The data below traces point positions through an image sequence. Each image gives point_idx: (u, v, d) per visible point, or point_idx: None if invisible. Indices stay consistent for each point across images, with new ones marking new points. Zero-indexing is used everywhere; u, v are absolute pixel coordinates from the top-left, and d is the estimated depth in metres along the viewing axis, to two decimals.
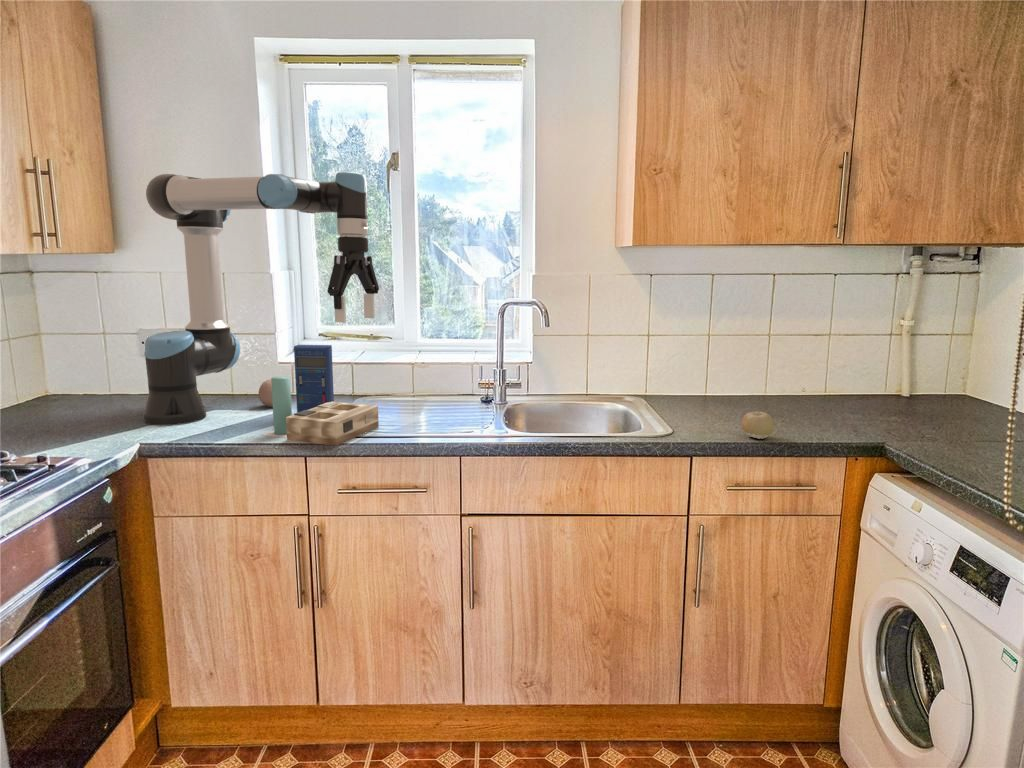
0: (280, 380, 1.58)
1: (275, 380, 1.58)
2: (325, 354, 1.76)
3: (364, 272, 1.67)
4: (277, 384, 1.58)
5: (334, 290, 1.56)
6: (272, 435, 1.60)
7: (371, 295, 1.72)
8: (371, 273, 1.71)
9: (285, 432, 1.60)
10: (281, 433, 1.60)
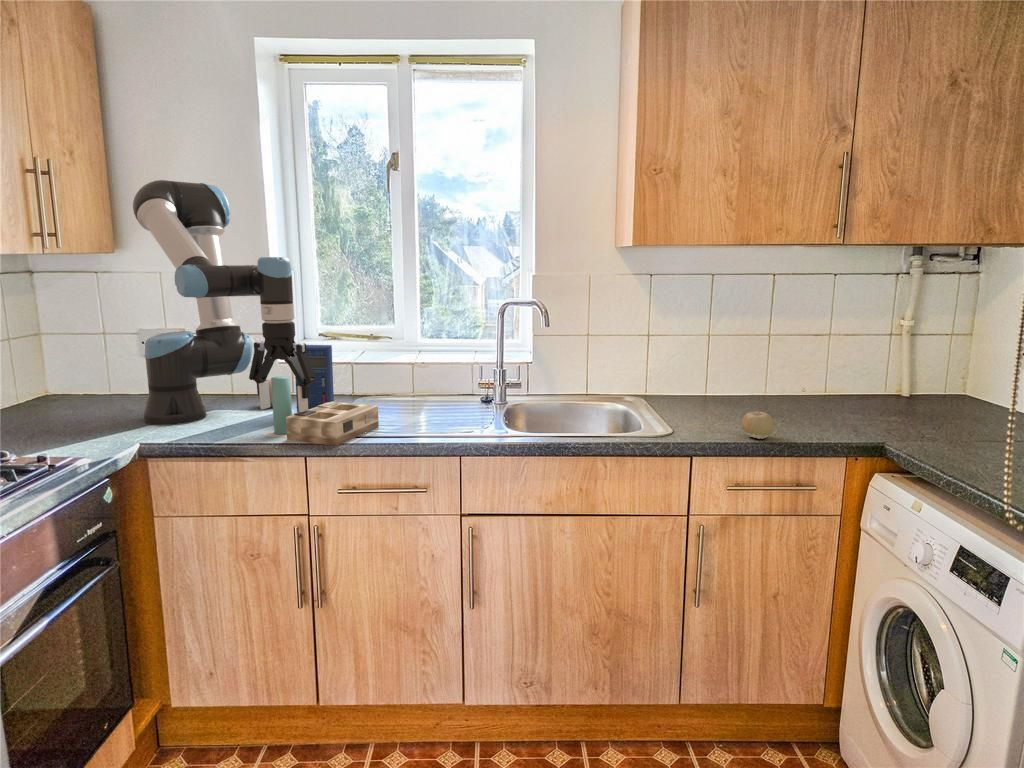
0: (280, 380, 1.58)
1: (275, 380, 1.58)
2: (325, 354, 1.76)
3: None
4: (277, 384, 1.58)
5: None
6: (272, 435, 1.60)
7: None
8: None
9: (285, 432, 1.60)
10: (281, 433, 1.60)
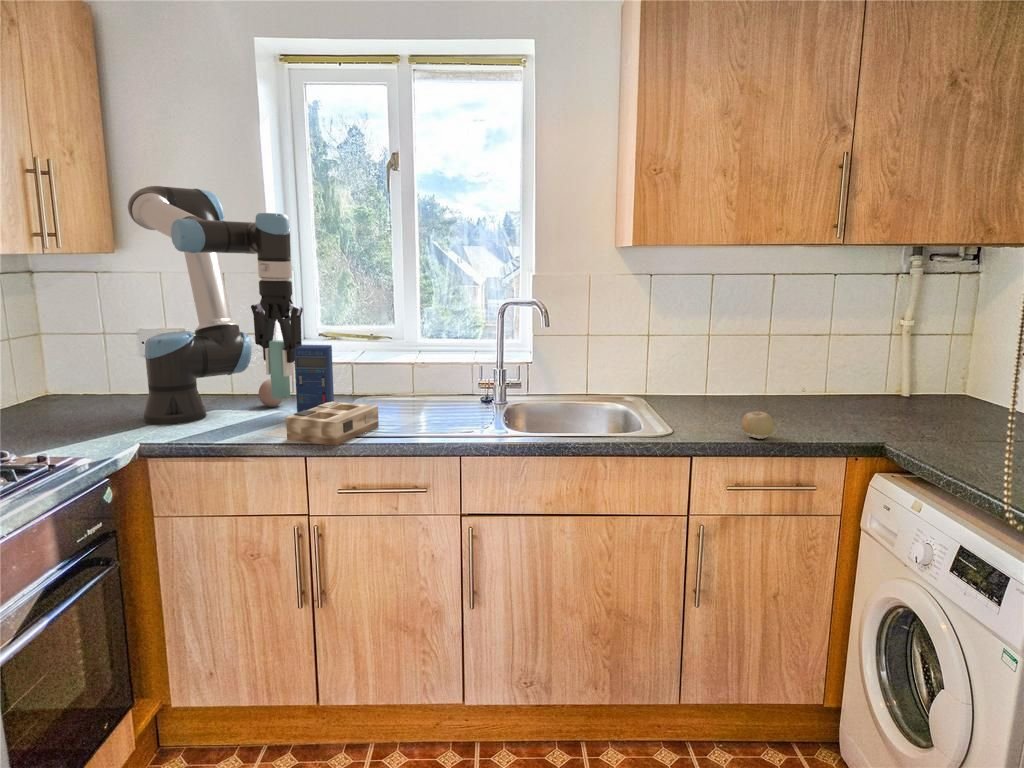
0: (278, 343, 1.56)
1: (273, 343, 1.56)
2: (325, 354, 1.76)
3: None
4: (275, 347, 1.56)
5: None
6: (272, 435, 1.60)
7: None
8: None
9: (282, 396, 1.59)
10: (278, 397, 1.59)
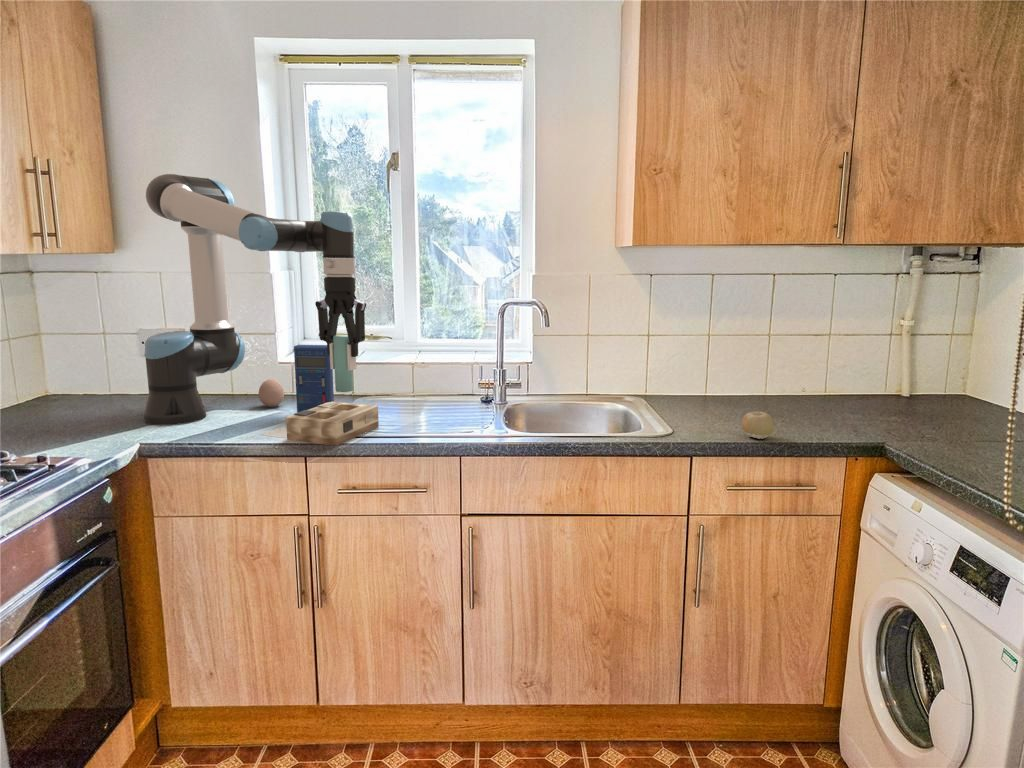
0: (342, 338, 1.60)
1: (337, 338, 1.60)
2: (325, 354, 1.76)
3: None
4: (339, 341, 1.61)
5: None
6: (272, 435, 1.60)
7: None
8: None
9: (347, 389, 1.63)
10: (343, 390, 1.63)
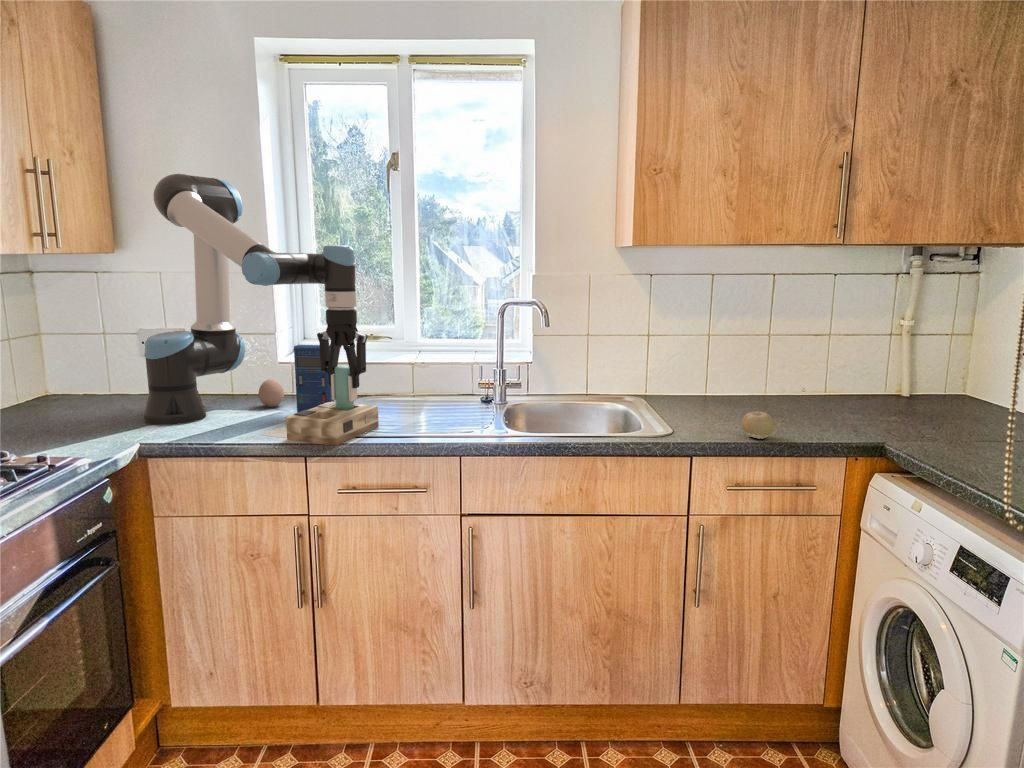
0: (344, 369, 1.62)
1: (339, 369, 1.62)
2: None
3: None
4: (341, 373, 1.62)
5: None
6: (272, 435, 1.60)
7: None
8: None
9: None
10: None
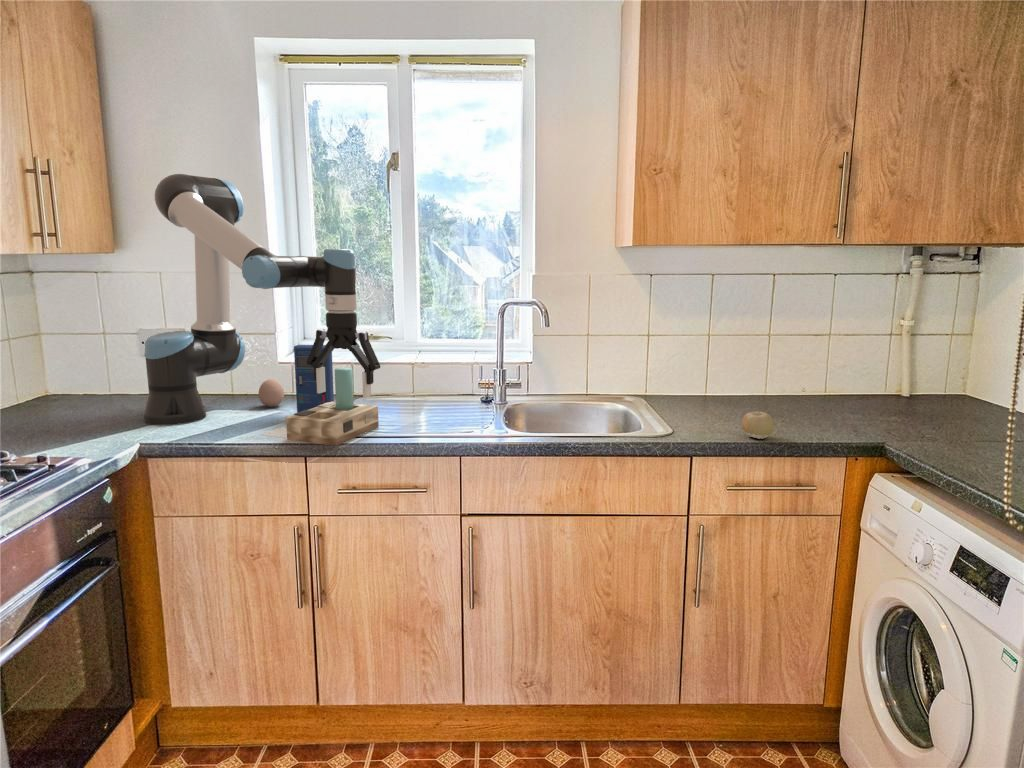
0: (344, 371, 1.62)
1: (339, 371, 1.62)
2: None
3: None
4: (341, 375, 1.62)
5: None
6: (272, 435, 1.60)
7: None
8: None
9: None
10: None
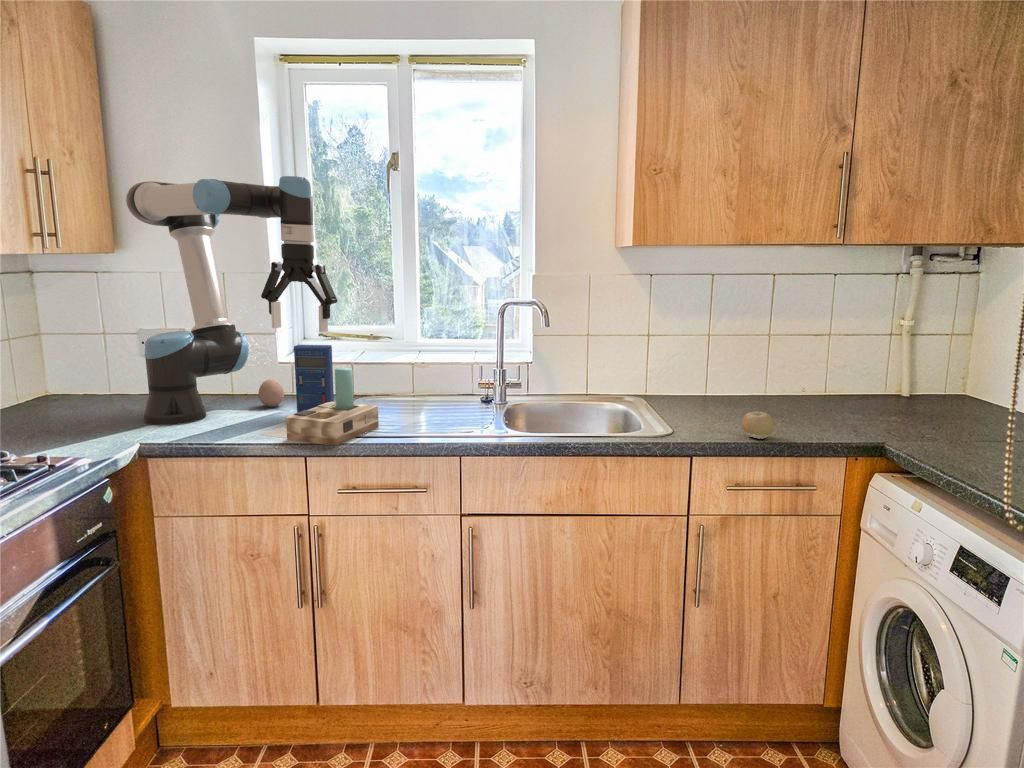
0: (344, 371, 1.62)
1: (339, 371, 1.62)
2: (325, 354, 1.76)
3: None
4: (341, 375, 1.62)
5: None
6: (272, 435, 1.60)
7: None
8: None
9: None
10: None
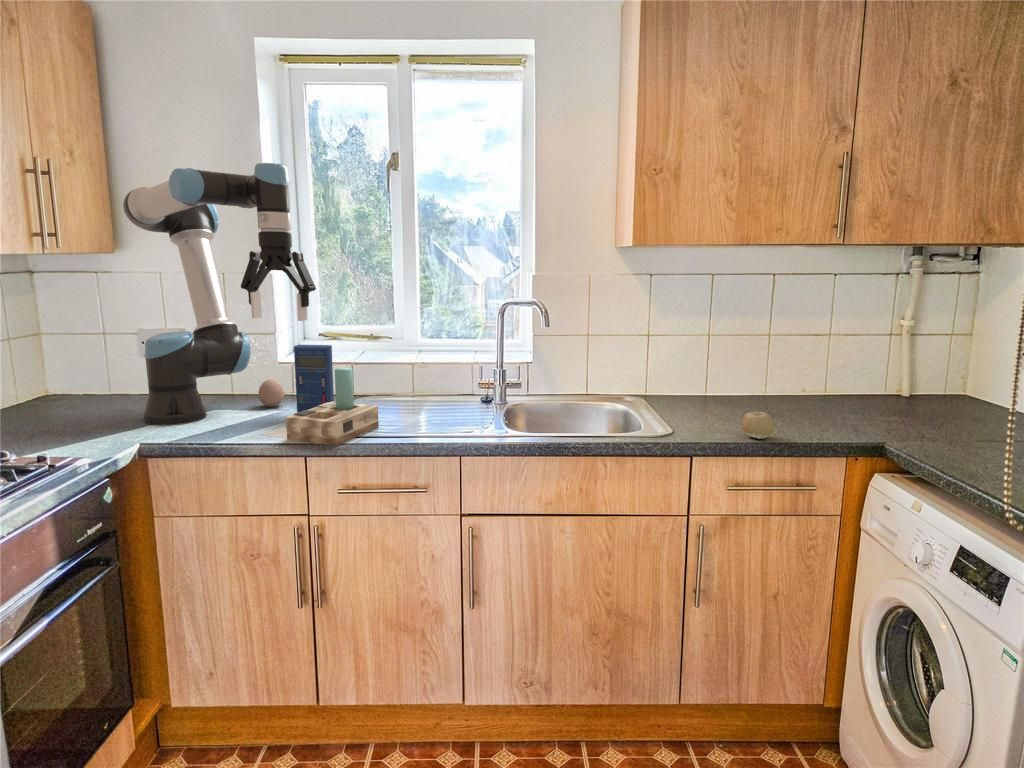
0: (344, 371, 1.62)
1: (339, 371, 1.62)
2: (325, 354, 1.76)
3: None
4: (341, 375, 1.62)
5: None
6: (272, 435, 1.60)
7: None
8: None
9: None
10: None
